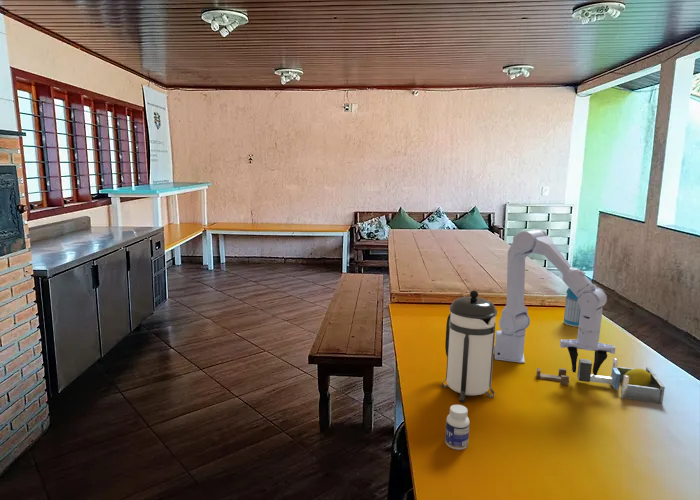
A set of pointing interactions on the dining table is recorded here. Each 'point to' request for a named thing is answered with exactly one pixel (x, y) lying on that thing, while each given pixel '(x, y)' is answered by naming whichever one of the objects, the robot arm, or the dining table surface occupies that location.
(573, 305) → the beverage bottle
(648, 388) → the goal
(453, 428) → the pill bottle
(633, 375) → the lemon
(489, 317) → the coffee press
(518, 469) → the dining table surface
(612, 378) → the rod
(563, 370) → the track
